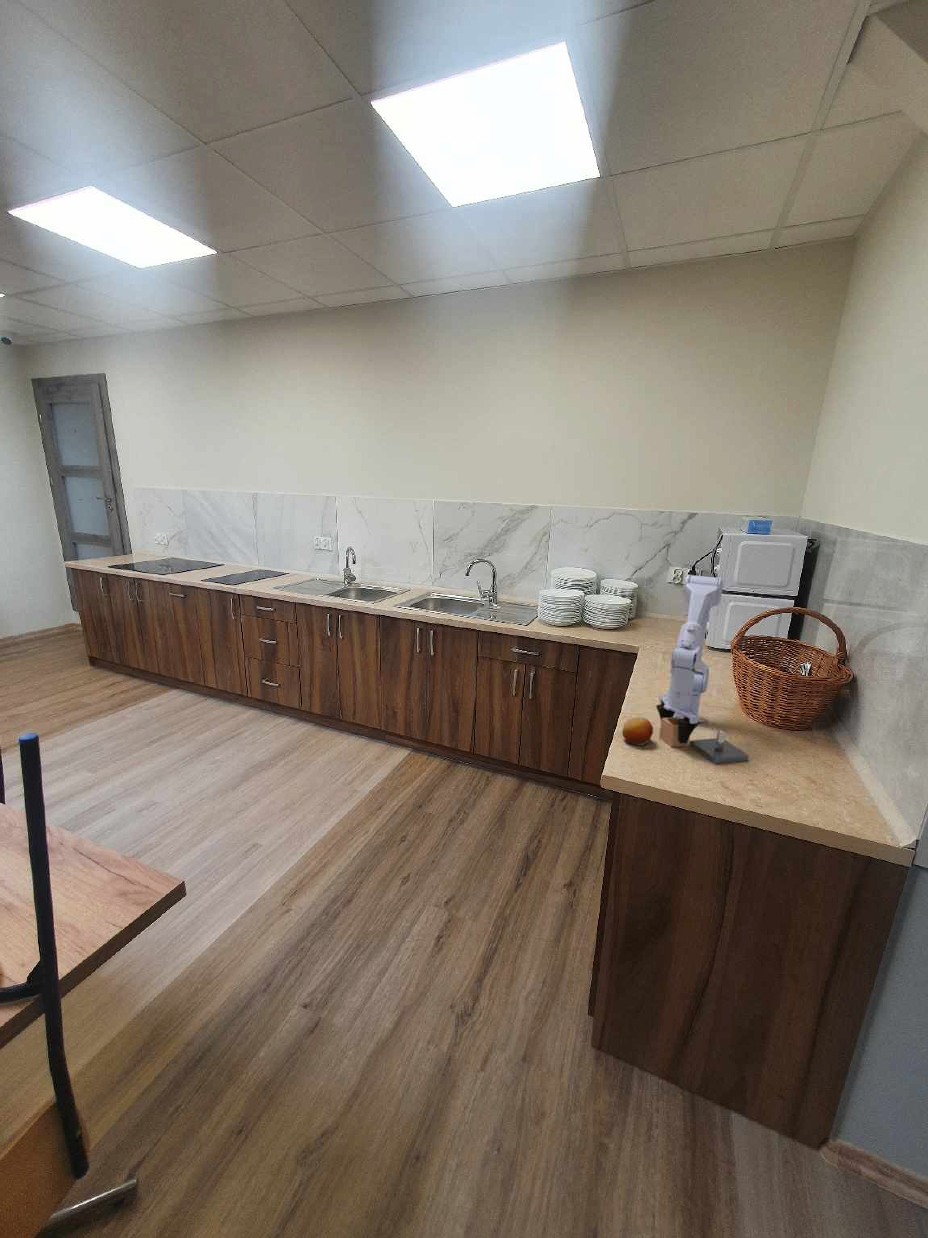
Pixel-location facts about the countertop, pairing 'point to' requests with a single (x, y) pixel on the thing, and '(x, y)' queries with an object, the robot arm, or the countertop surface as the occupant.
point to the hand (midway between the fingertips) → (674, 736)
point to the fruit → (637, 731)
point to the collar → (670, 732)
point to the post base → (719, 749)
